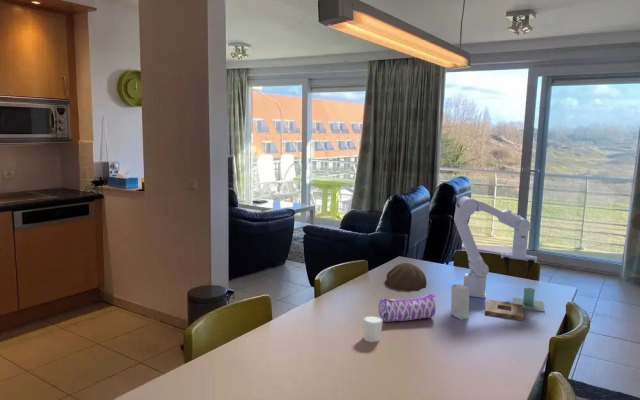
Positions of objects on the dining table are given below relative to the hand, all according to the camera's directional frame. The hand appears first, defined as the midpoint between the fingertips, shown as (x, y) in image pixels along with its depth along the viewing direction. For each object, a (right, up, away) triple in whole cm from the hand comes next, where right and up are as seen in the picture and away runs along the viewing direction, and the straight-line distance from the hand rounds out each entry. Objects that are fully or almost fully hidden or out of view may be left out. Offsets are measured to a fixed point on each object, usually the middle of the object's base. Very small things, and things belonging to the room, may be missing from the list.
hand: (517, 275), depth 207 cm
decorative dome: (-46, -7, +15) cm, 49 cm away
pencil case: (-54, -13, -27) cm, 62 cm away
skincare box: (-33, -12, -24) cm, 42 cm away
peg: (0, -11, -10) cm, 14 cm away
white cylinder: (-69, -15, -45) cm, 84 cm away
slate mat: (0, -11, -10) cm, 15 cm away
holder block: (-12, -12, -17) cm, 24 cm away
